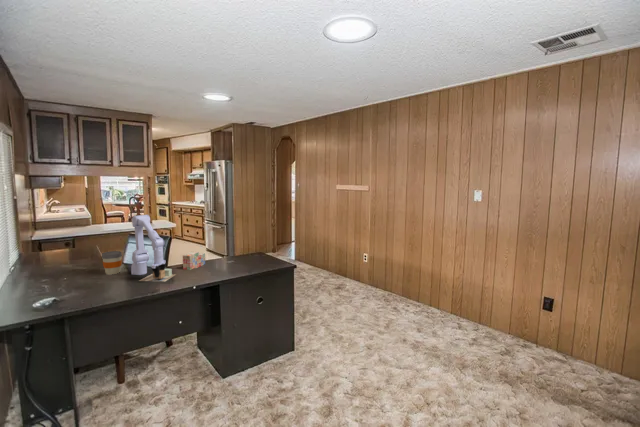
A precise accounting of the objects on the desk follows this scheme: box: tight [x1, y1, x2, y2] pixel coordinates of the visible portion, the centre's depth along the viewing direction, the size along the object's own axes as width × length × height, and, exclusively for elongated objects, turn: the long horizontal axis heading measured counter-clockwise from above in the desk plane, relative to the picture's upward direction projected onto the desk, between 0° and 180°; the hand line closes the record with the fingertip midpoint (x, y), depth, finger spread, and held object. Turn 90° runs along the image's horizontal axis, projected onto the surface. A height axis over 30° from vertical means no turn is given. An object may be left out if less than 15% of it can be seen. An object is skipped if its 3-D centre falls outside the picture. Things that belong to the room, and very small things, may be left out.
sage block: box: [164, 268, 173, 276], centre depth 228 cm, size 4×4×4 cm
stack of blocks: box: [182, 251, 206, 271], centre depth 254 cm, size 21×6×12 cm, turn 169°
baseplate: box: [139, 273, 177, 282], centre depth 224 cm, size 18×16×1 cm
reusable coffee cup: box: [101, 250, 123, 276], centre depth 236 cm, size 13×13×15 cm
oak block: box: [152, 270, 165, 279], centre depth 219 cm, size 5×5×4 cm
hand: (159, 275), depth 219 cm, fingers closed on oak block, 5 cm apart
